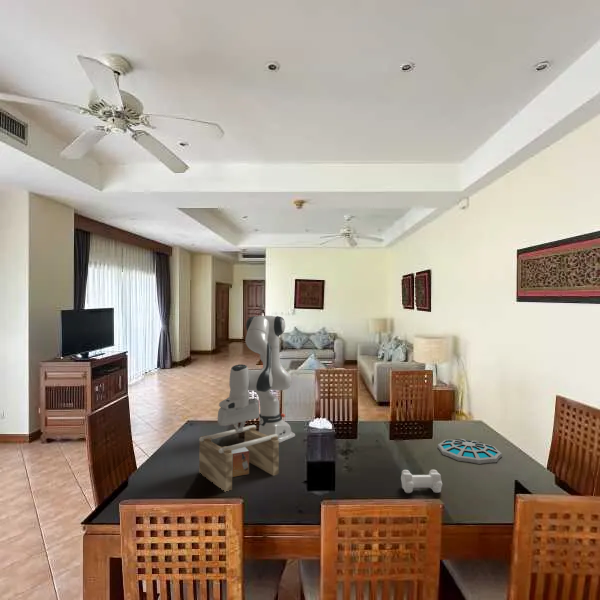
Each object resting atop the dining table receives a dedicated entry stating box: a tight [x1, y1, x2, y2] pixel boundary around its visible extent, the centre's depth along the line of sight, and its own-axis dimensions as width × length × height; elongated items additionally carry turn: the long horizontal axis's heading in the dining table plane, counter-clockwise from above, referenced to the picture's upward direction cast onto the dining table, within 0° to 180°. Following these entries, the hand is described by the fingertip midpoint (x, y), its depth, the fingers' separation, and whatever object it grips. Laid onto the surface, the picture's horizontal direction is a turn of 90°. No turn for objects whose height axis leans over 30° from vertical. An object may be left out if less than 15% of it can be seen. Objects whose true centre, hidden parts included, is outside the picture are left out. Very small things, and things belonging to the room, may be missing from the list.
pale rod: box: [198, 424, 257, 443], centre depth 181 cm, size 30×2×2 cm, turn 130°
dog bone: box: [400, 469, 443, 494], centre depth 158 cm, size 15×9×8 cm, turn 91°
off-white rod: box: [219, 434, 278, 453], centre depth 167 cm, size 30×2×2 cm, turn 130°
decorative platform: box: [437, 438, 503, 465], centre depth 200 cm, size 31×29×5 cm
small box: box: [231, 447, 250, 478], centre depth 174 cm, size 8×6×10 cm
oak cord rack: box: [198, 424, 280, 493], centre depth 174 cm, size 27×24×16 cm
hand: (239, 431), depth 174 cm, fingers closed
